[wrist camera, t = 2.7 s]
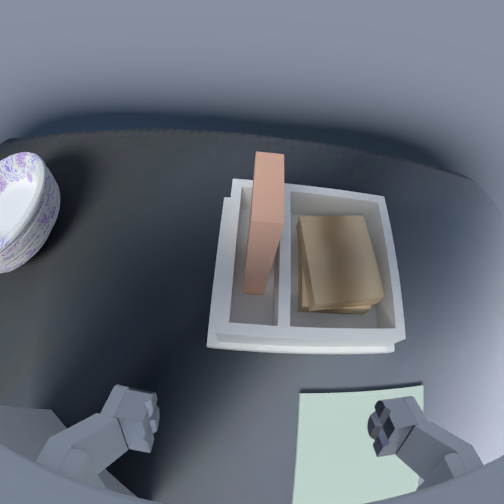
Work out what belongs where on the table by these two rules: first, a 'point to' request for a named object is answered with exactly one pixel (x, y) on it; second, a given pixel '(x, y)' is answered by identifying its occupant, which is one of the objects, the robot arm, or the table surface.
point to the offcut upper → (338, 262)
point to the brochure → (40, 436)
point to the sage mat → (346, 450)
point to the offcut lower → (304, 307)
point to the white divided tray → (286, 282)
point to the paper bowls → (25, 208)
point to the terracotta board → (264, 221)
